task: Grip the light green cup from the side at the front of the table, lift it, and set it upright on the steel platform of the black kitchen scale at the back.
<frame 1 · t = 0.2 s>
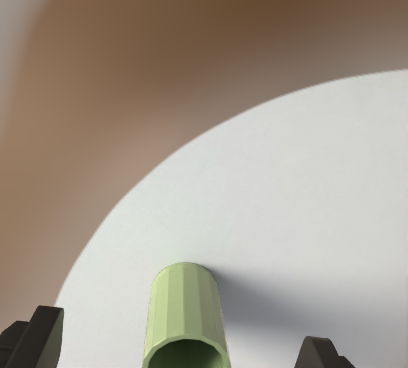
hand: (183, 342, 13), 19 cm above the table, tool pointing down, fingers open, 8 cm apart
light green cup: (184, 291, 34), on the table
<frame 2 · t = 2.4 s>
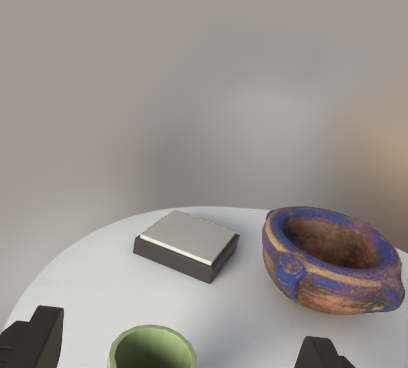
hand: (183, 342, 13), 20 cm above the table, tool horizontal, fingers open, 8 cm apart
bowl: (312, 295, 53), on the table
kitchen scale: (187, 250, 58), on the table
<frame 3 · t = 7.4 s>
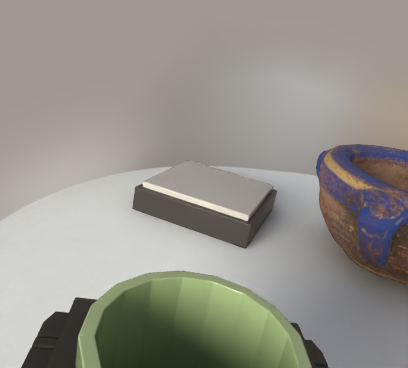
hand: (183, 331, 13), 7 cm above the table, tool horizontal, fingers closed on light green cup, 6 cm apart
bowl: (390, 266, 37), on the table
kitchen scale: (208, 208, 42), on the table
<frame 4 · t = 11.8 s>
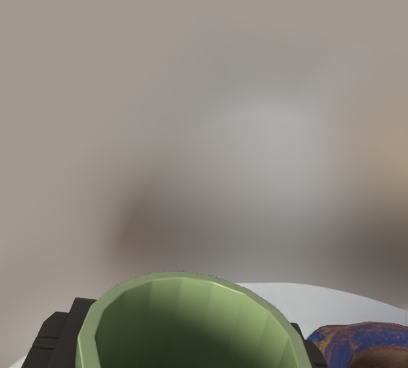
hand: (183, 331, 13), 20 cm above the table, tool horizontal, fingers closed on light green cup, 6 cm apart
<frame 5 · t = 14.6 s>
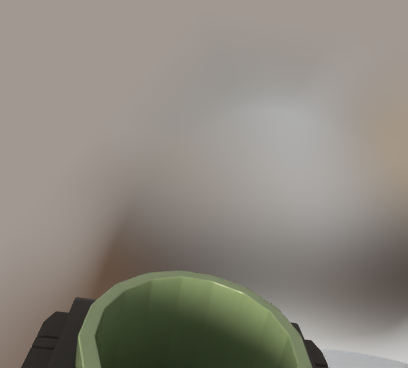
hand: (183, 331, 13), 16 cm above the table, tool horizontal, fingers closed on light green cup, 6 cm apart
when the fingers open (10 cm above the table, at t = 16.6 s): light green cup stays where it is, resting on kitchen scale.
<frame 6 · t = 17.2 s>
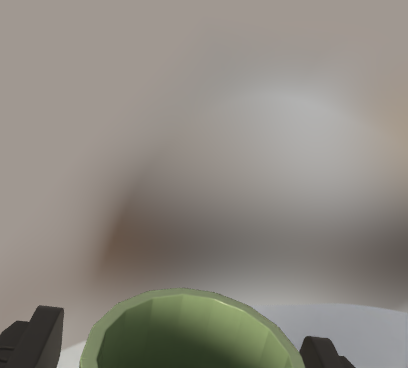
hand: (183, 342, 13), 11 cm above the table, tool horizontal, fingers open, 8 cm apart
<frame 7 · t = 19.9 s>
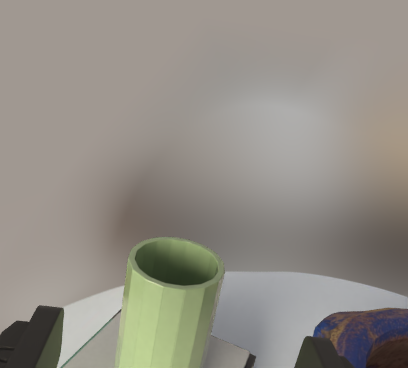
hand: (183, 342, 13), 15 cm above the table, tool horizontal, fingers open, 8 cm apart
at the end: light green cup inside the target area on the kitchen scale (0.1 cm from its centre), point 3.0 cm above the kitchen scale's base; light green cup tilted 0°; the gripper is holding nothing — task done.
